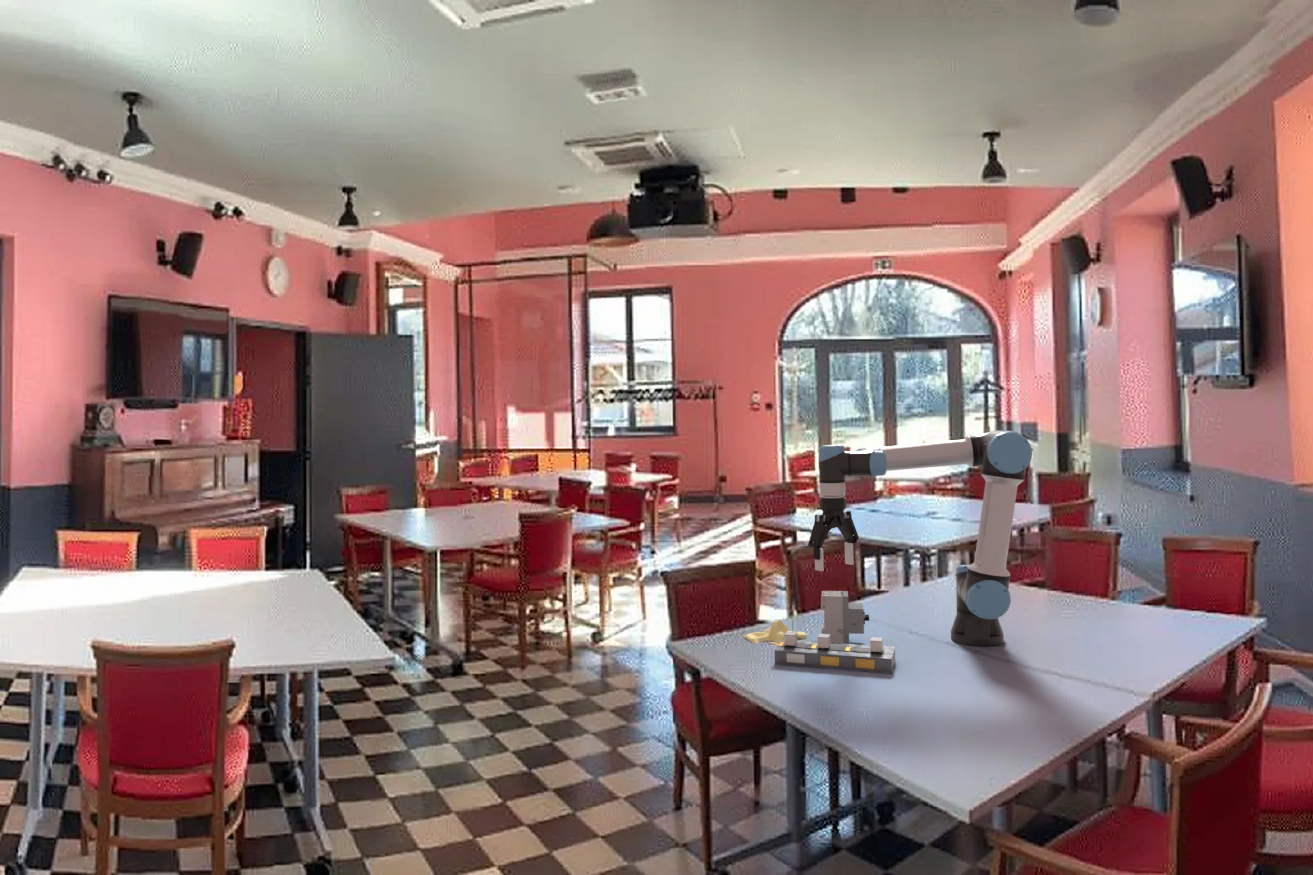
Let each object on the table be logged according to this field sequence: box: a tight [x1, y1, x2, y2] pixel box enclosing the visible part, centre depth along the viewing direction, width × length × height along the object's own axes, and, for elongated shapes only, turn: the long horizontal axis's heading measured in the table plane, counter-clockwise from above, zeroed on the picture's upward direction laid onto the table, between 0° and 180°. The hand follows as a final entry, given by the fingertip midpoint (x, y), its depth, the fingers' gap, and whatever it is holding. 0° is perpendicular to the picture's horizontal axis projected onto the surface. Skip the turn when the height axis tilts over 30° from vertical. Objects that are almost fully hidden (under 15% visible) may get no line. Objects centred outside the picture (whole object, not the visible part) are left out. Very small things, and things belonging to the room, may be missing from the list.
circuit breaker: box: [820, 590, 870, 644], centre depth 259 cm, size 8×14×15 cm, turn 78°
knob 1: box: [784, 630, 798, 646], centre depth 243 cm, size 3×4×3 cm
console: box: [774, 639, 896, 675], centre depth 238 cm, size 32×12×4 cm, turn 70°
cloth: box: [742, 619, 808, 646], centre depth 265 cm, size 22×19×6 cm
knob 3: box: [869, 636, 884, 652], centre depth 234 cm, size 3×4×3 cm
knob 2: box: [817, 633, 830, 648], centre depth 239 cm, size 3×4×3 cm
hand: (834, 567), depth 252 cm, fingers open, 13 cm apart
